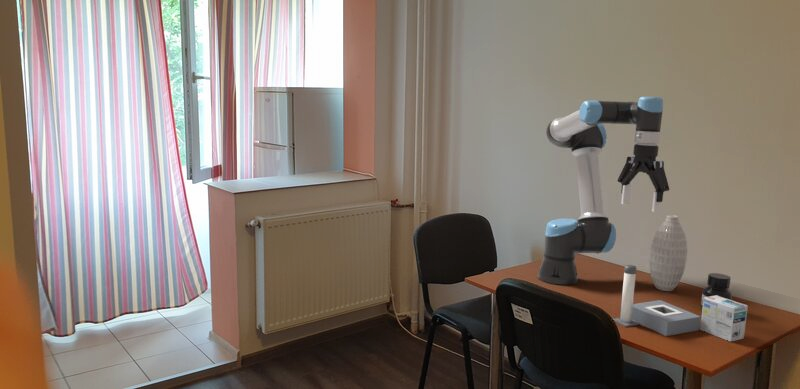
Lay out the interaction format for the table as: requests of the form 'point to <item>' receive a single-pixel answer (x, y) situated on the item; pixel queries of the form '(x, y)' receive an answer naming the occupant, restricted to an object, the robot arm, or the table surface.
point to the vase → (668, 254)
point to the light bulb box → (723, 318)
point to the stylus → (628, 293)
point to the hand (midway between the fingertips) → (639, 207)
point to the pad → (626, 323)
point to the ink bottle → (717, 286)
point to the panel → (665, 318)
